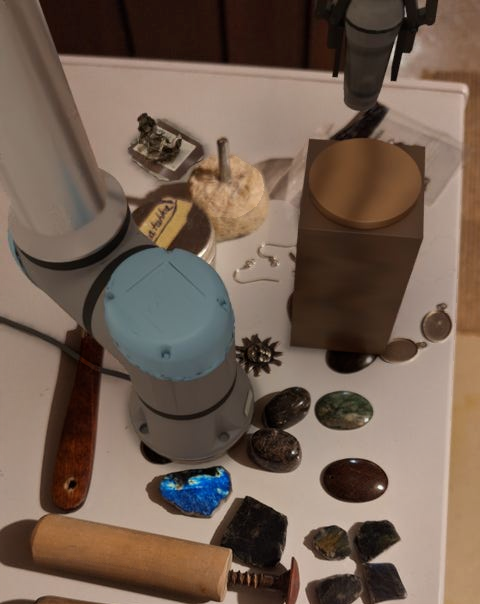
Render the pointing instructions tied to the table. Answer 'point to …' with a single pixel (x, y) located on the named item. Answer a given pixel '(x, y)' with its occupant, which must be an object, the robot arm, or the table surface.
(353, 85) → the beverage cup
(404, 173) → the cork coaster
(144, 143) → the figurine on square base
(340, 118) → the table surface
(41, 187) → the robot arm
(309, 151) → the walnut stand
